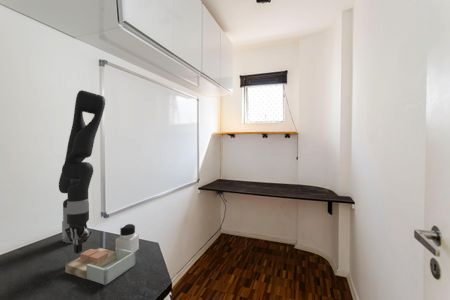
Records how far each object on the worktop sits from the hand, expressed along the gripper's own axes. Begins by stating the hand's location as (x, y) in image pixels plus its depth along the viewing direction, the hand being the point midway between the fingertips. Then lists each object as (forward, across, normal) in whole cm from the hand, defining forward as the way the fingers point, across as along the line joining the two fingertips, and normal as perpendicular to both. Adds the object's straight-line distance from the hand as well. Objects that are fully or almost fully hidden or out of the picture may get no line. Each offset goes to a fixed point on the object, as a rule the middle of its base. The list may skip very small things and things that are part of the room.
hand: (78, 252), depth 86 cm
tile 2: (+1, +12, 0) cm, 12 cm away
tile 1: (+1, +7, 0) cm, 7 cm away
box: (+4, +19, 0) cm, 19 cm away
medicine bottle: (+4, +13, +13) cm, 19 cm away
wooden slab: (+4, +9, 0) cm, 9 cm away
